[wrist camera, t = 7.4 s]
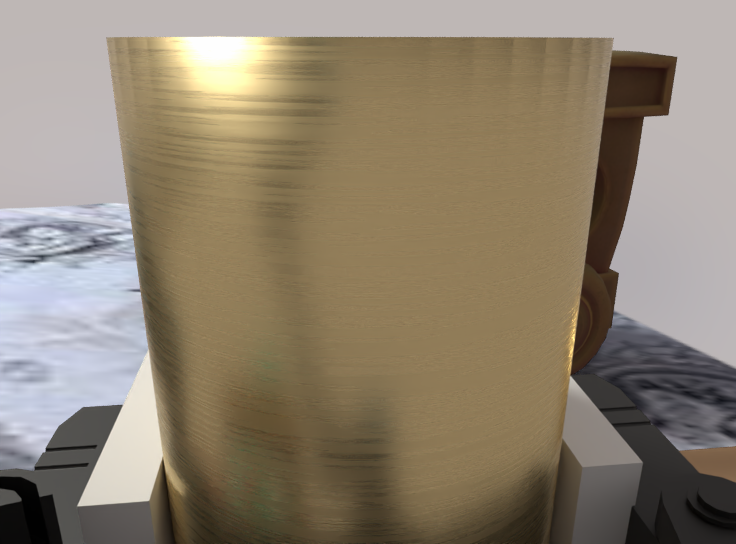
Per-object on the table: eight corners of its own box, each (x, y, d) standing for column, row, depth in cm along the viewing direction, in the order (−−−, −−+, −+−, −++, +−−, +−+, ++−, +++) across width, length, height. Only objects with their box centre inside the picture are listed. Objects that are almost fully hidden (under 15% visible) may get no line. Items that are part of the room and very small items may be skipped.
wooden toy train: (533, 301, 44) (556, 48, 38) (643, 380, 33) (698, 49, 28) (243, 337, 39) (220, 50, 33) (267, 443, 28) (239, 52, 23)
